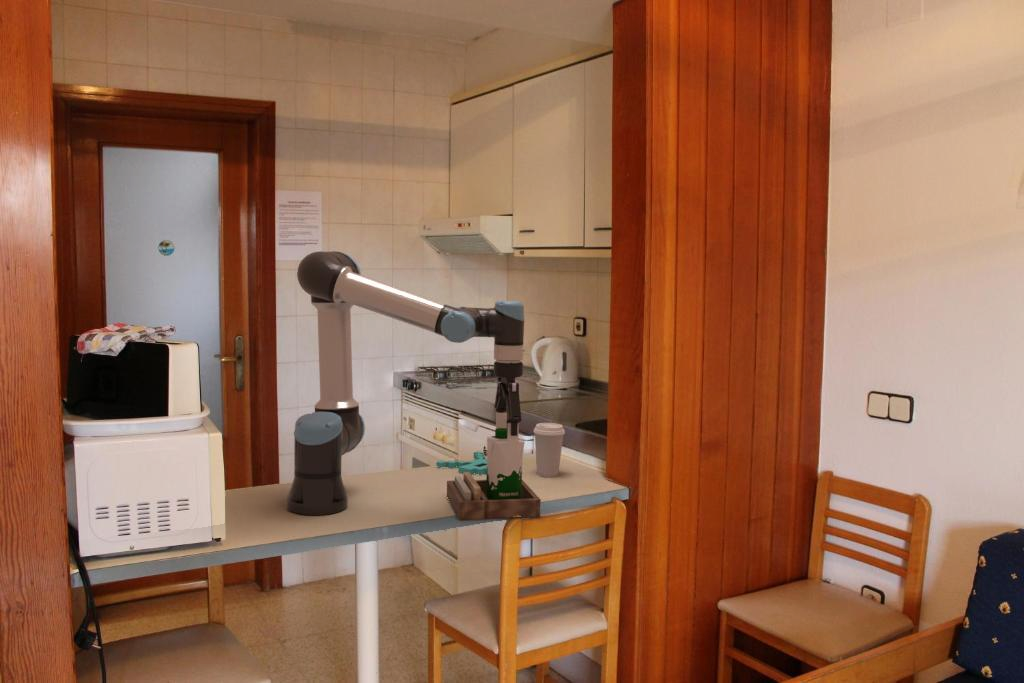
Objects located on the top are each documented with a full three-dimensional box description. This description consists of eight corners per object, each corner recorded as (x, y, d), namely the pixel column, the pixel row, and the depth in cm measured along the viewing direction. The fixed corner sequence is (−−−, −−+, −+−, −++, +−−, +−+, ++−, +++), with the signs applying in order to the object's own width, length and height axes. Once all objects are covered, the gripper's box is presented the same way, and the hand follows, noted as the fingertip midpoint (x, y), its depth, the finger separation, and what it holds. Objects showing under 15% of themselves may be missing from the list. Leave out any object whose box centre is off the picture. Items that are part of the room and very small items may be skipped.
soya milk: (512, 500, 234) (515, 427, 232) (525, 510, 226) (528, 434, 224) (481, 502, 231) (484, 428, 229) (493, 512, 223) (496, 435, 221)
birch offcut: (473, 517, 219) (474, 488, 218) (462, 499, 234) (463, 472, 233) (479, 517, 219) (480, 488, 218) (468, 499, 235) (469, 472, 234)
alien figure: (436, 468, 267) (487, 481, 255) (436, 461, 267) (487, 473, 255) (477, 457, 283) (527, 469, 271) (478, 451, 283) (528, 461, 271)
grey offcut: (464, 517, 218) (465, 492, 218) (453, 499, 234) (454, 476, 233) (470, 517, 219) (471, 492, 218) (459, 499, 234) (460, 476, 233)
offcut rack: (459, 520, 216) (459, 502, 215) (446, 497, 235) (447, 480, 235) (540, 517, 220) (540, 499, 220) (520, 494, 240) (521, 478, 240)
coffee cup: (526, 471, 266) (528, 423, 264) (555, 469, 270) (556, 421, 268) (539, 479, 257) (541, 429, 256) (568, 477, 261) (570, 427, 259)
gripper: (534, 367, 214) (532, 452, 216) (511, 355, 238) (509, 432, 240) (504, 367, 212) (503, 453, 214) (484, 355, 236) (483, 432, 238)
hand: (506, 442), depth 227 cm, fingers open, 13 cm apart
